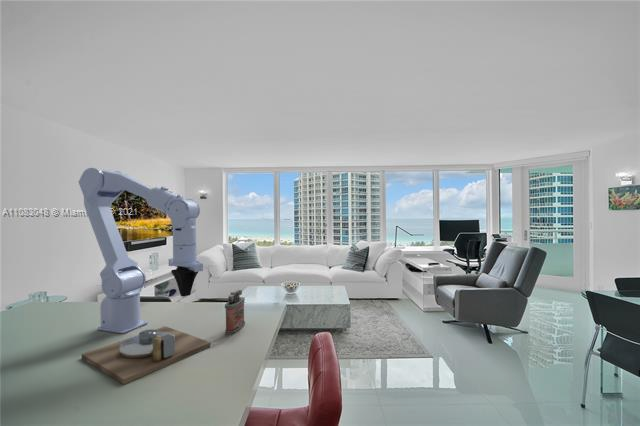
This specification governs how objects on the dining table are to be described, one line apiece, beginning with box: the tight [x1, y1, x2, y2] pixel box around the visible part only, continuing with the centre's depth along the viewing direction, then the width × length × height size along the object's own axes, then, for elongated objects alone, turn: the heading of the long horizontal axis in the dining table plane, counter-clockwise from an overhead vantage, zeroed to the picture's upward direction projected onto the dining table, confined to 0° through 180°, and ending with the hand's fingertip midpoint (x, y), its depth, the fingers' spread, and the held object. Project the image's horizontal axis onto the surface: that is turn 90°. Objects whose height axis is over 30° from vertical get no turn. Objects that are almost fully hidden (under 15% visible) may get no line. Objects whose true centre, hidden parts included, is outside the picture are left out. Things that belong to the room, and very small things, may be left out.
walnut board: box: [81, 325, 211, 385], centre depth 72 cm, size 19×19×6 cm
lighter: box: [224, 289, 246, 336], centre depth 85 cm, size 8×3×10 cm, turn 168°
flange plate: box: [120, 328, 175, 358], centre depth 71 cm, size 11×14×4 cm
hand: (185, 295), depth 84 cm, fingers closed
